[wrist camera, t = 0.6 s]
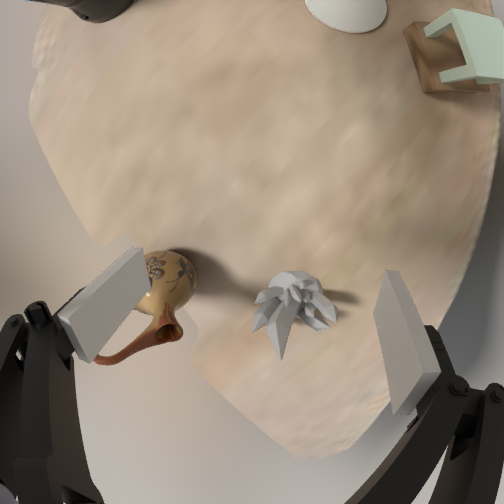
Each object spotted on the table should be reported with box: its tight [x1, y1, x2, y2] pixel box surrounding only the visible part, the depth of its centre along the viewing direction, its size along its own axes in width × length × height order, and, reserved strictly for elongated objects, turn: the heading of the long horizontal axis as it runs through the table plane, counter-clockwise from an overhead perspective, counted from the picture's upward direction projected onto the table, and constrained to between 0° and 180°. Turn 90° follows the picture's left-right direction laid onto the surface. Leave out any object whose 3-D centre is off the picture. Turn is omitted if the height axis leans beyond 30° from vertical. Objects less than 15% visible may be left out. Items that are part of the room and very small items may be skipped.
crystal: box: [252, 271, 338, 360], centre depth 40 cm, size 10×13×15 cm
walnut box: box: [403, 22, 490, 93], centre depth 22 cm, size 10×10×5 cm
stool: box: [423, 8, 504, 84], centre depth 16 cm, size 8×8×9 cm
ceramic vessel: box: [93, 251, 197, 365], centre depth 37 cm, size 16×9×25 cm, turn 89°
